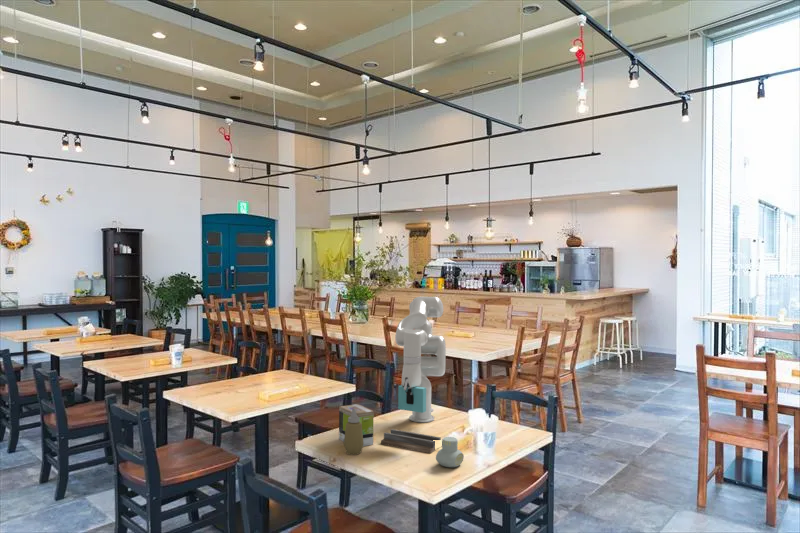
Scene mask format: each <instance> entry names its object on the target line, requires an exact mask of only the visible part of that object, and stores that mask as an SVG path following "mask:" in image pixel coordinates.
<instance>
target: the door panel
mask: <svg viewBox="0 0 800 533" xmlns="http://www.w3.org/2000/svg"><path fill="white" fill-rule="evenodd" d="M397 387H398V390H397V392H398V395H397V397H398V398H397V399H398V400H397V401H398V404H397V406H398V407H397V409H398V410H401V411H409V412H412V411H414V412H421V413H423V412H426V388H424V387H413V395H414V404H407V403H406V391H404V387H402V384H401V385H398V386H397ZM408 387H409V386H408ZM410 391H411V389H410Z"/></svg>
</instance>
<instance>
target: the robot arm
mask: <svg viewBox="0 0 800 533" xmlns="http://www.w3.org/2000/svg"><path fill="white" fill-rule="evenodd" d="M408 307H409V308H408V309H409V314H408V315H406V316H405V317H404V318H402V320H400V321H399V322H398V324H397V327H396V331H395V343H396V345H398V346H400V347H403V365H402V372H401V385H402V387H404V391H406V403H407V404H414V395H413V387H424V388H426V412H423V413H421V412H414V411H411V412H412V414H410V415H409V418H408V420H410V421H411V422H415V423H430V422H433V421H434V420H435V416H434V415H432V413H433V412H434V411H435V410H434V408H433V407H432V383H431V381H430V380H429V379H428V377H443V376H444V375H445V373H446V358H447V357H446V354H447V353H446V352H447V350H446V348H447V347H446V345H447V344H446V339H445V338H444V336H442V335H435V334H434V335H432V325H431V323H430V321H429V320H428V318H441V317H442V316H443V313H444V304H443V301H442V300H441V298H439V297H437V296H417V297H415V298H414V299H413V300H412V301H411V302H410V303H409V306H408ZM422 355H435V356H422ZM408 386H409V387H408ZM410 389H411V391H410Z"/></svg>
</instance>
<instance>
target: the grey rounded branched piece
mask: <svg viewBox="0 0 800 533" xmlns="http://www.w3.org/2000/svg"><path fill="white" fill-rule="evenodd" d="M441 441H442V446H441V449H438V451H437V453H436V455H435V460H436V462H437V463H438V465H440V466H441V467H445V468H457V467H459V466H460V465H462V463H463V462H464V454H463V452H462V451H461V450H460V449H458V448H459V447H458V445H459V444H458V439H457V438H456V437H452V436H446V437H443V438H442V440H441Z"/></svg>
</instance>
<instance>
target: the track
mask: <svg viewBox="0 0 800 533" xmlns="http://www.w3.org/2000/svg"><path fill="white" fill-rule="evenodd" d="M433 440H441V437H440V436H435V435H429V434H423V433H417V432H411V431H407V430H406V431H405V430H400V429H395V428H391V429H390V432H386V431H385V432H384V433H383V439H380V444H381V445H384V446H385V445H386V446H390V447H395V448H401V449H406V450H410V451H411V450H412V451H417V452H422V453H427V454H433V453H434V452H435V451H436V450H435V441H433ZM441 441H442V440H441Z"/></svg>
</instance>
